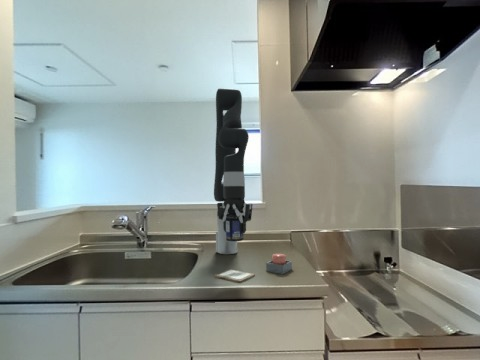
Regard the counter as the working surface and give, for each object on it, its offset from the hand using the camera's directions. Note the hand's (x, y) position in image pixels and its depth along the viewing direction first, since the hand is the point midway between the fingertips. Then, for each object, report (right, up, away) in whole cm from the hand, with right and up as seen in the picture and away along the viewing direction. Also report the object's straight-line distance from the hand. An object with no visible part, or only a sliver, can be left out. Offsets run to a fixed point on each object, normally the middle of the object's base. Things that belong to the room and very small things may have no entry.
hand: (234, 232), depth 103 cm
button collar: (+16, -15, +7) cm, 23 cm away
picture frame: (0, -15, 0) cm, 15 cm away
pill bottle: (0, -3, 0) cm, 3 cm away
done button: (+16, -14, +7) cm, 22 cm away
